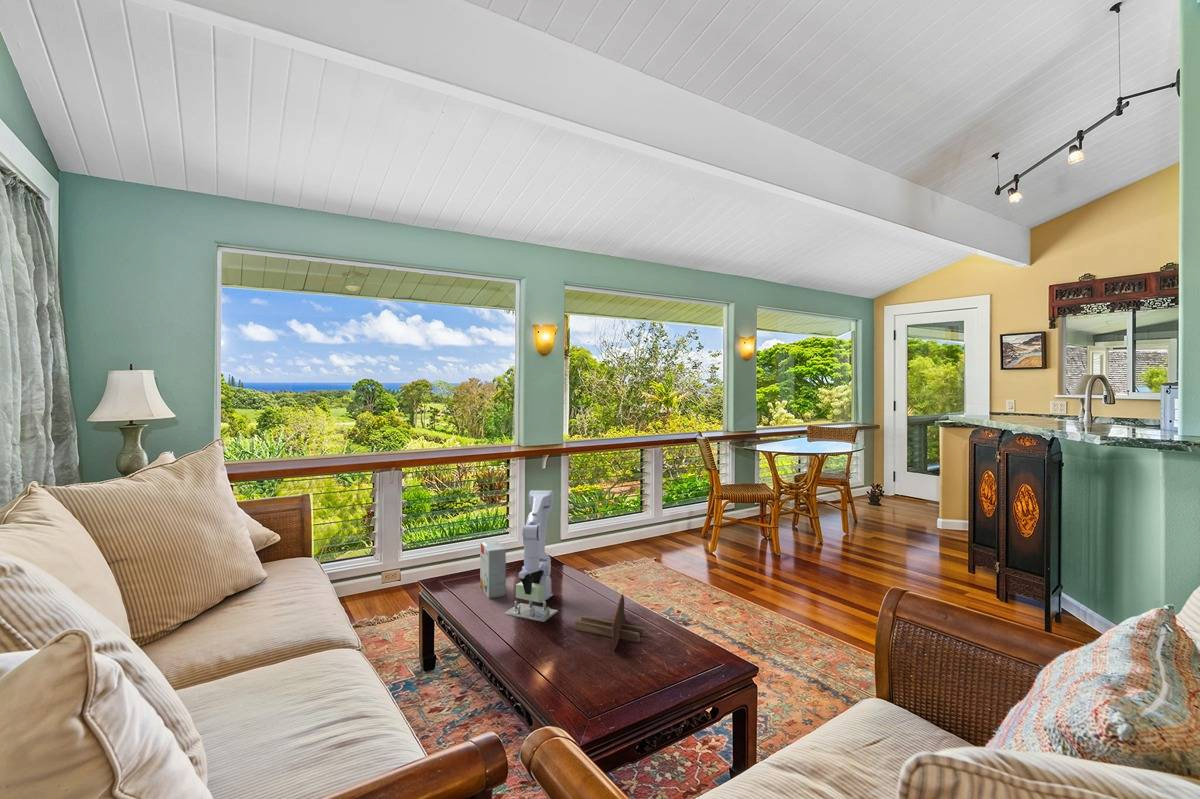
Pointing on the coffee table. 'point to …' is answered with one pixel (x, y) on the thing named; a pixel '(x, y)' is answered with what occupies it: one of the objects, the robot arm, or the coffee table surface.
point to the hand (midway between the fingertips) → (531, 591)
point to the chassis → (531, 611)
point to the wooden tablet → (618, 621)
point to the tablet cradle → (608, 628)
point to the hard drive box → (493, 568)
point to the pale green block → (536, 592)
